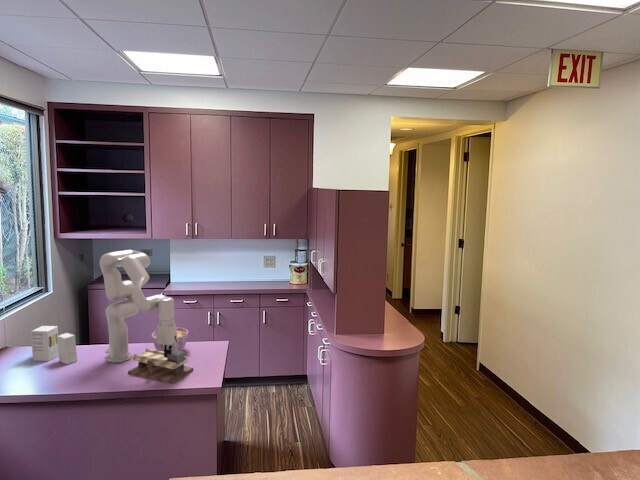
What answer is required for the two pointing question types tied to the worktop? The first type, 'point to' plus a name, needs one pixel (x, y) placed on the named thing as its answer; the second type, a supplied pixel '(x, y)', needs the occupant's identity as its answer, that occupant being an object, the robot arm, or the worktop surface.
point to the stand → (160, 372)
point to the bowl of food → (181, 340)
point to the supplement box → (44, 343)
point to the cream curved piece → (157, 359)
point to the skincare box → (67, 348)
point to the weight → (176, 356)
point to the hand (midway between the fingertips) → (167, 356)
